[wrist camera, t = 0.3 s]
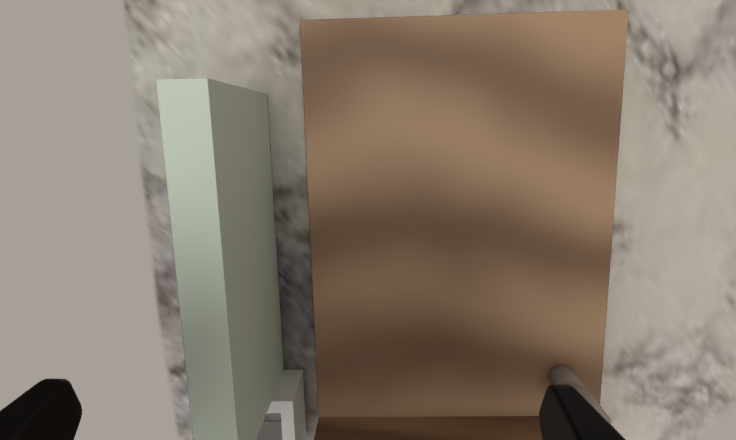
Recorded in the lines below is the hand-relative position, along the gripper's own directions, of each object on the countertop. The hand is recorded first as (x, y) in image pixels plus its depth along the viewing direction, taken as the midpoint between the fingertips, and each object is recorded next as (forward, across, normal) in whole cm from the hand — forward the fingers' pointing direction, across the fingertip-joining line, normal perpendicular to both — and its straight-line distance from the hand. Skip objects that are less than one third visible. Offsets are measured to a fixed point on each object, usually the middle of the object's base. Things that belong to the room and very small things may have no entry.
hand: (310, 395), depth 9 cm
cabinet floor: (+14, -6, +6) cm, 16 cm away
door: (+13, +4, +8) cm, 16 cm away
